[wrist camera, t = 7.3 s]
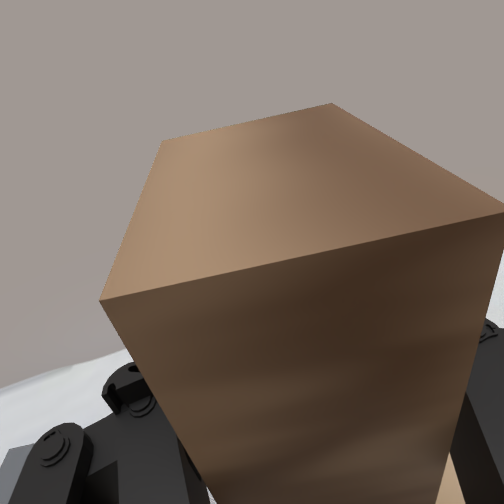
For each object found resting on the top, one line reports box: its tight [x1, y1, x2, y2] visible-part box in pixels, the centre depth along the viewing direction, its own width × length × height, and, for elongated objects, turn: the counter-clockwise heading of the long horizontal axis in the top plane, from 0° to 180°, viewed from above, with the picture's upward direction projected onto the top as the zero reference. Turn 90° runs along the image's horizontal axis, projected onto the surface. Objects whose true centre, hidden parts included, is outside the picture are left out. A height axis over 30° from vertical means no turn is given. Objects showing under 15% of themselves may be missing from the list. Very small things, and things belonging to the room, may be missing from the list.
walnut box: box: [99, 103, 504, 504], centre depth 11 cm, size 5×7×14 cm
